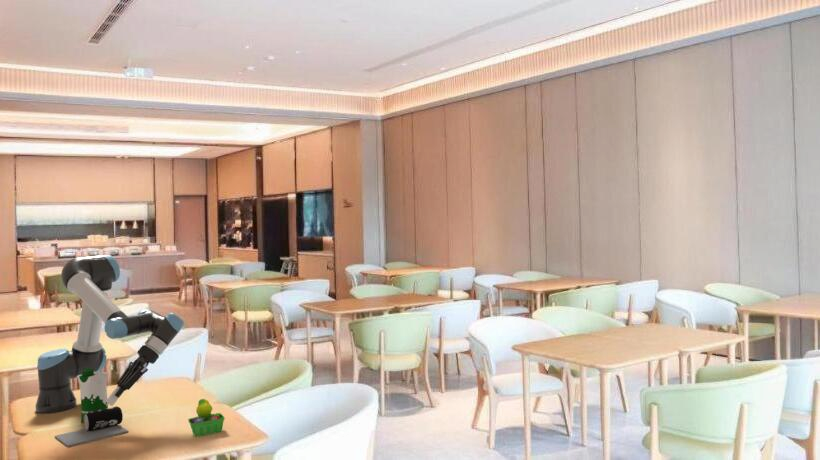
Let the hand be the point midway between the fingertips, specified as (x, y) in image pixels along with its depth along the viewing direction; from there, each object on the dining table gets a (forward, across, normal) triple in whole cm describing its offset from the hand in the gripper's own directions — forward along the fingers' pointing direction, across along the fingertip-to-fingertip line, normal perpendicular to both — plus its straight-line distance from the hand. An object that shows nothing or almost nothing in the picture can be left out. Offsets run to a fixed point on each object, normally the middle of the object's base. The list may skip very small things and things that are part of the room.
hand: (108, 403), depth 248 cm
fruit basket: (-9, +31, +23) cm, 40 cm away
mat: (+12, 0, +2) cm, 12 cm away
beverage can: (+1, -4, +8) cm, 9 cm away
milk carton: (+7, -18, +7) cm, 21 cm away
